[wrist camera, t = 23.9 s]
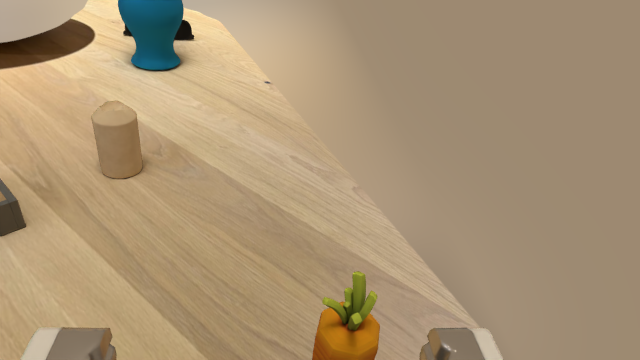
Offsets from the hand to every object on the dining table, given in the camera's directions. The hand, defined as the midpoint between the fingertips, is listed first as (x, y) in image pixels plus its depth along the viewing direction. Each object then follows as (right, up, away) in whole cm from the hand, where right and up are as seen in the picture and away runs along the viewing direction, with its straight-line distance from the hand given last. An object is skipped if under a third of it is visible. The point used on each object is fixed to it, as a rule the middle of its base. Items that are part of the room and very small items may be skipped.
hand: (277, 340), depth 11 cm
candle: (-28, +6, +51) cm, 59 cm away
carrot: (+2, -16, +27) cm, 31 cm away
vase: (-35, +30, +84) cm, 96 cm away
